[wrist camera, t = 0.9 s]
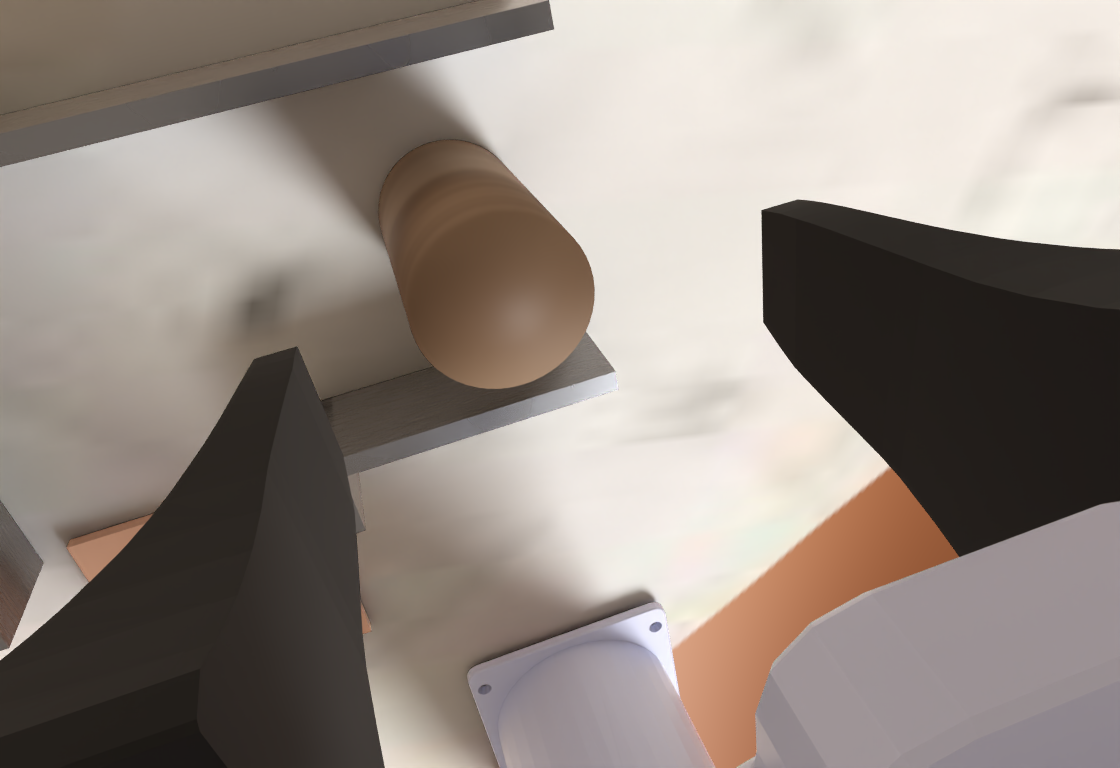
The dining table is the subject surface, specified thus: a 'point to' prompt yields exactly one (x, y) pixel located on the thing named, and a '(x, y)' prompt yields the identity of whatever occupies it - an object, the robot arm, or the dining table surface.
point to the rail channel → (499, 15)
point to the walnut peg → (482, 267)
